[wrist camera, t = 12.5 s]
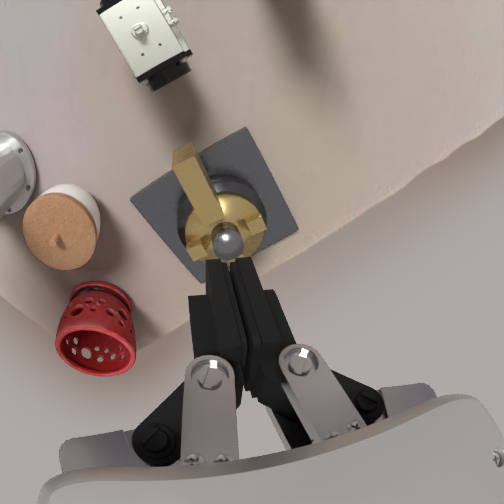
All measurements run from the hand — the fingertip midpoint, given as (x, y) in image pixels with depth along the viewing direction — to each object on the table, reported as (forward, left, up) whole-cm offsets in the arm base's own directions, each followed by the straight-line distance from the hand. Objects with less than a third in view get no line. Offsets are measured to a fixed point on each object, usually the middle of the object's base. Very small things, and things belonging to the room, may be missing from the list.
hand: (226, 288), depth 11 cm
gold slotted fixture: (-3, -9, -25) cm, 26 cm away
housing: (-3, -12, -29) cm, 32 cm away
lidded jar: (-20, +1, -29) cm, 36 cm away
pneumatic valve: (+2, +13, -29) cm, 32 cm away
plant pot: (-29, -15, -29) cm, 44 cm away
